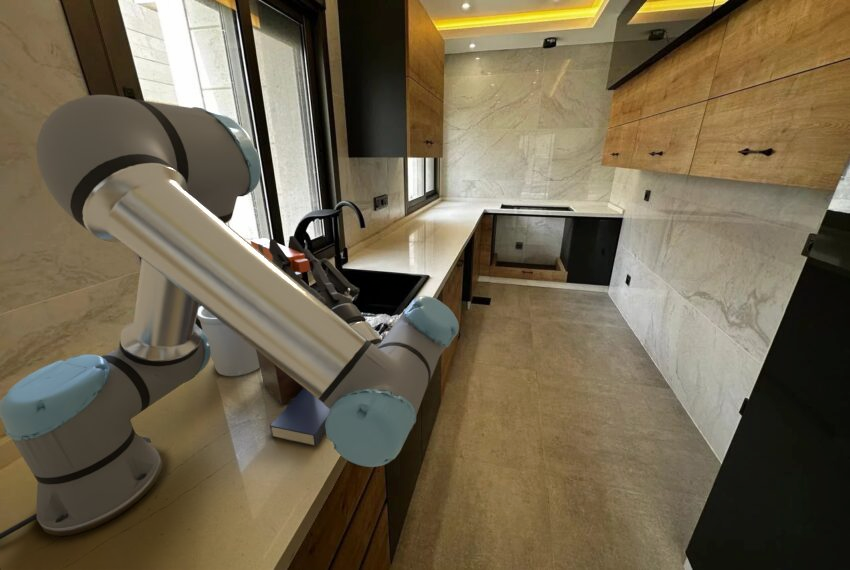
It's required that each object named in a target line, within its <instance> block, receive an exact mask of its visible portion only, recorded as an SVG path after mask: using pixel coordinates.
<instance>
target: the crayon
mask: <svg viewBox="0 0 850 570" xmlns="http://www.w3.org/2000/svg"><path fill="white" fill-rule="evenodd" d="M270 240H271V239H269V238H266V237H263V238H257V239H251V240H250V244H251V245H252V246H253V247H255V248H256V249H257V250H258V251H260V252H261V253H262V254H263V255H264V256H266V257H267V258H268V259H269V260H271V261H272V258H273V256H272V254H271V253H270V251H269V244H270ZM277 244H278V245H279V247H280V248H281V249H282V251H283V252H284V253H285V255H286V256H287V258H288V259H289V260H290V262H291V264H290V268H291V269H292V270H293V271H294V272H299V273H302V274H303V273H306V272H309V271H310V264H309V260H307V259H305V254H303V253H300V252H298V251H295V250H293V249H291V248H288V246H285V245H283V244H280V243H278V242H277Z"/></svg>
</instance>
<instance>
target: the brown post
mask: <svg viewBox="0 0 850 570" xmlns="http://www.w3.org/2000/svg"><path fill="white" fill-rule="evenodd" d="M295 273H296V274H297V275H298V276H299V277H300V278H301V279H303V273H299V272H295ZM256 352H257V357H258V361H259V366H260V368H259V371H260V374H261V375H260V376H261V380H262V384H263V385H264V387H266V388H267V390H268V391H269V392H270V393H271V394H272V395H273V396H274V397H275V398H276V400H278V402H280V403H281V405H285V404H286V403H289V402H291V401H292V400H293V399H294V398H295V397H296V396H297V395H298V394H299V393H300V391H301V390H302V389H303V388H304V387H303V386H301V385H300V384H299V383H298V382H296V381H295V380H294V379H293V378H291V377H290V376H289V375H288V374H286V373H285V372H284V371H283V370H281V369H280V368H279V367H278V366H276V365H275V364H274V363H273V362H271V361H270V360H269V359H268V358H266V357H265V356H264V355H263V354H261V353H260V352H259V351H257V350H256Z"/></svg>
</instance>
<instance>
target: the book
mask: <svg viewBox="0 0 850 570" xmlns="http://www.w3.org/2000/svg"><path fill="white" fill-rule="evenodd" d="M329 411H330V409H329V408H328V407H327V406H326V405H324V404H323V402H321V401H320V400H319V399H318V398H316V397H315V396H314V395H313V394H311V393H310V392H309V391H308V390H306V389H305V388H303V389H302V390H301V391H300V393H299V394H298V395H297V396H296V397H295V398H294V399H292V400H290V402H289V403H288V404H287V406H286V407H285V408H284V409H283V411H281V412H280V413H279V415H278V416H277V417H276V418H275V419H274V421H272V422H271V423H270V425H269V427H270V431H271V436H272V437H273V438H277V439H280V440H287V441H290V442H296V443H299V444H304V445H308V446H314V447H317V446H318V444H319V443H320V441H321V439H322V438H323V437H324V435H326V428H325V423H326V419H327V416H328V414H329Z"/></svg>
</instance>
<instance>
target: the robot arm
mask: <svg viewBox="0 0 850 570" xmlns="http://www.w3.org/2000/svg"><path fill="white" fill-rule="evenodd" d="M35 143H36V144H35V145H36V147H35V148H36V149H35V151H36V153H35V155H36V163H37V166H38V169H39V173H40V176H41V178H42V180H43V182H44V185H45V186H46V188H47V190H48V192H49V193H50V194H51V196H52V197H53V198H54V200H55V201H56V203H57V204H58V206H60V207H61V209H63V210H64V212H65V213H67V215H69V216H70V218H72V219H73V220H74V221H76V222H77V223H78V224H79V225H81V226H82V227H83V228H84V229H86V230H87V231H88V232H89V233H91V234H92V235H93V236H94V237H96V238H98V239H100V240H102V241H105V242H109V243H122V244H123V245H125V246H126V247H127V248H128V249H130V250H131V251H132V252H133V253H135V254H136V255H137V256H139V258H141V259H140V267H139V276H138V285H137V292H136V301H135V310H134V317H133V320H131V321H130V322H129V323H127V324H126V325H125V326H124V327H123V329H122V330H121V332H120V336H119V344H118V347H117V348H116V349H113V350H112V351H109V352H107V353H106V354H104V355H102V356H100V355H98V354H80V355H76V356H71V357H69V358H67V359H65V360H57V361H55V362H53V363H50V364H48V365H45V366H43V367H40V368H39V369H36V370H35V371H34V372H32V373H30V374H28V375H26V376H25V377H23V378H22V379H20V380H19V381H17V382H16V383H15V384H14V385H12V387H10V388H9V389H8V390H7V391H6V392H5V394H4V396H3V397H2V398H1V399H0V419H1V421H2V423H3V427H4V432H5V434H6V436H7V437H8V438H9V439H11V440H12V441H13V443H14V445H15V447H16V449H17V450H18V452H19V453H20V456H22V458H23V460H24V461H25V463H26V465H27V466H28V468H29V469H30V472H31V473H32V474H33V476H34V478H35V480H36V482H37V490H36V510H35V514H33V515H30V516H29V517H27V518H26V519H24V520H21V521H20V522H18V523H16V524H14V525H13V526H11V527H9V528H7V529H5V530H4V531H2V532H0V540H2V539H3V538H6V537H7V536H9V535H11V534H12V533H14V532H16V531H17V530H20V529H22V528H23V527H25V526H27V525H29V524H31V523H32V522H34V521H36V520H37V522H38V524H39V525H40V526H41V529H42V530H43V531H44V532H45V533H46V534H49V535H51V536H58V537H59V536H62V537H63V536H64V537H65V536H71V535H76V534H80V533H84V532H87V531H90V530H92V529H95V528H97V527H100V526H102V525H103V524H106V523H107V522H110V521H111V520H113V519H115V518H117V517H119V516H120V515H122V514H123V513H125V512H126V511H127V510H129V509H130V508H131V507H133V506H134V505H135V504H137V502H139V501H140V500H141V499H142V498H144V496H145V495H146V494H147V493H148V492H149V491H150V490H151V489H152V488H153V486H154V485H155V484H156V482H157V481H158V479H159V478H160V475H161V473H162V469H163V461H162V458H161V455H160V454H159V453H160V452H159V451H158V450H157V449H156V448H155V446H153V445H152V442H151V439H150V437H148V436H147V437H146V436H141V435H139V434H137V433H136V431H135V429H134V426H133V424H132V419H134V417H137V416H138V415H139V414H141V413H142V412H143V411H145V410H146V409H148V408H149V407H151V406H152V405H153V404H155V403H156V402H158V401H159V400H161V399H162V398H164V397H166V396H167V395H169V394H170V393H171V392H173V391H175V390H176V389H177V388H179V387H180V386H182V385H183V384H185V383H188V382H189V381H191V380H193V379H194V378H195V377H196V376H197V375H198V374H199V373H201V372H202V371H203V370H205V368H206V366H207V365H208V364H209V362H210V358H211V349H210V345H209V344H207V341H208V339H207V337H206V335H205V333H204V332H203V329H202V328H200V327H199V326H198V325H197V324H196V321H197V319H198V317H197V313H198V309H199V307H200V306H202V307H204V308H205V309H206V310H207V311H209V312H210V313H211V314H212V315H214V316H215V317H216V318H217V319H219V320H220V321H221V322H222V323H224V324H225V325H226V326H227V327H229V328H230V329H231V330H232V331H234V332H235V333H236V334H237V335H239V336H240V337H241V338H242V339H244V340H245V341H246V342H247V343H249V344H250V345H251V346H252V347H254V348H255V349H256V350H257V351H259V352H260V353H261V354H263V355H264V356H265V357H266V358H268V359H269V360H270V361H271V362H273V363H274V364H275V365H276V366H278V367H279V368H280V369H281V370H283V371H284V372H285V373H286V374H288V375H289V376H290V377H291V378H293V379H294V380H295V381H296V382H298V383H299V384H300V385H301V386H303V387H304V388H305V389H306V390H308V391H309V392H310V393H311V394H313V395H314V396H315V397H316V398H318V399H319V400H320V401H321V402H323V404H324V405H326V406H327V407H328V408H329V409H330V411H329V414H328V416H327V419H326V423H325V428H326V432H325V435H326V438H327V440H329V441H330V442H331V443H333V449H334V450H335V452H336V453H337V454H338V455H339V456H341V457H342V458H343V459H345V460H346V461H348V462H350V463H352V464H355V465H357V466H361V467H366V468H375V467H376V468H377V467H383V466H385V465H387V464H389V463H390V462H392V461H394V460H396V458H397V456H398V455H400V452H401V451H402V448H403V446H404V444H405V442H406V440H407V439H408V436H409V434H410V432H411V430H412V429H413V427H414V425H415V424H416V422H417V415H418V412H419V409H420V407H421V403H422V401H423V398H424V396H425V393H426V390H427V388H428V386H429V384H430V383H431V379H432V378H433V375H434V372H435V370H436V367H437V364H438V362H439V359H440V357H441V355H442V354H443V352H444V351H445V350H446V349H447V348H449V347H450V346H451V345H452V341H453V340H454V338H456V336H457V335H458V333H459V330H460V325H459V321H458V319H457V317H456V315H455V313H454V312H453V310H452V309H450V308H449V307H448V306H447V305H446V304H445V303H444V302H442V301H441V300H439V299H437V298H434V297H432V296H429V295H419V296H416V297H415V298H413V299H412V300H411V302H410V303H409V305H408V306H407V307H406V308H404V309H403V311H402V313H401V314H400V316H399V318H398V319H397V320H396V321H395V323H394V324H393V325H392V327H391V328H390V330H389V331H388V332H387V334H386V335H385V336H384V338H383V339H382V338H381V337H380V335H379V334H378V333H377V331H376V330H375V329H374V327H373V326H372V325H371V324H370V322H369V321H367V320H366V317H365V316H364V315H363V314H362V312H361V311H360V310H359V309H358V307H357V305H355V304H353V302H356V301H357V299H358V296H359V293H360V288H359V287H357V286H355V285H353V284H352V283H350V281H348V279H347V278H346V277H345V276H344V275H343V274H342V273H341V272H340V271H339V270H338V268H336V266H335V265H333V263H332V262H331V261H330V260H329V259H328V258H325V257H324V258H322V259H318V258H316V257H315V256H314V255H313V253H312V252H311V251H310V250H309V249H308V248H303V246H302V245H301V244H300V242H299V241H298V240H297V239H296V237H295V236H294V235H290V236H289V238H288V246H287V247H288V248H291V249H293V250H295V251H298V252H300V253H303V254H305V259H307V260H309V264H310V271H308V273H310V274H311V275H312V278H313V280H314V282H315V283H316V285H317V288H318V289H319V291H318V292H317V291H316V289H314V288H313V287H310V286H309V285H308V284H307V283H306V282H305V281H304V280H303V278H300V277H299V276H298V275H297V274H296V273H295V272H294V271H293V270H292V269H291V268H290V264H291V262H290V260H289V259H288V258H287V256H286V255H285V253H284V252H283V251H282V249H281V248H280V247H279V245H278V244H279V243H278V242H277V241H276V239H275V238H272V239H269V240H270V244H269V251H270V253H271V254H272V256H273V258H272V261H271V260H269V259H268V258H267V257H266V256H264V255H263V254H262V253H261V252H260V251H258V250H257V249H256V248H255V247H253V246H252V245H251V242H249V241H248V240H246V239H245V238H244V237H243V236H241V235H240V234H239V233H238V232H237V231H235V229H233V228H232V227H231V226H229V225H228V224H229V222H230V221H231V220H232V218H233V214H234V212H235V207H236V203H237V199H238V197H245V196H247V195H249V194H251V193H252V192H253V191H254V190H255V189H256V188H257V187H258V185H259V182H260V178H261V172H262V171H261V169H262V167H261V160H260V156H259V152H258V149H257V148H255V146H254V144H253V140H252V138H251V136H250V135H249V134H248V132H247V131H246V130H245V129H244V128H243V127H242V126H241V125H240V124H239V123H238V122H236V121H235V120H234V119H232V118H231V117H229V116H227V115H225V114H222V113H219V112H214V111H210V110H207V109H205V108H202V107H196V106H193V107H188V106H182V105H174V104H169V103H168V104H167V103H161V102H156V101H155V102H154V101H149V100H142V99H135V98H130V97H127V96H118V95H112V94H91V95H85V96H81V97H78V98H74V99H71V100H69V101H67V102H64V103H63V104H61V105H60V106H58V107H57V108H55V109H54V110H53V111H52V112H51V113H50V114H49V115H48V116H47V117H46V119H45V121H43V123H42V125H41V127H40V130H39V133H38V135H37V137H36V142H35ZM277 243H278V244H277ZM336 289H337V290H338V292H337V290H336Z"/></svg>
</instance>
